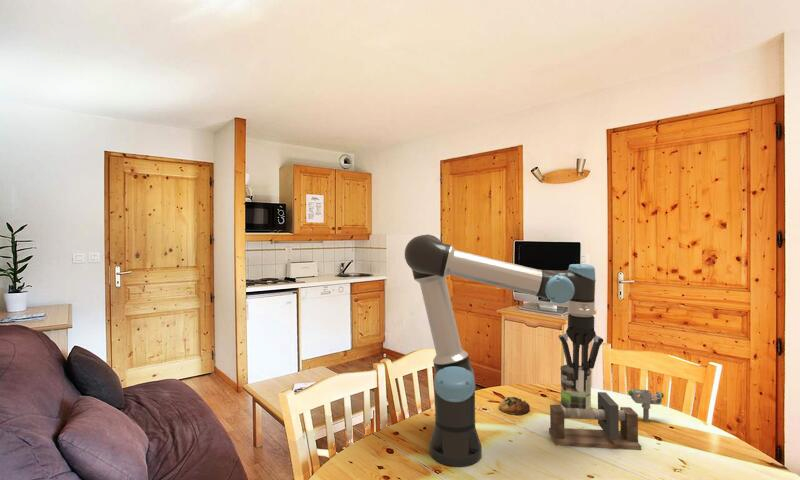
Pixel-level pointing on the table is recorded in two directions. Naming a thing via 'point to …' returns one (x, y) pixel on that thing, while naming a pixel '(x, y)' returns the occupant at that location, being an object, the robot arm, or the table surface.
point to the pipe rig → (592, 436)
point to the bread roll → (514, 406)
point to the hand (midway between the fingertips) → (579, 390)
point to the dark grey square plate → (609, 415)
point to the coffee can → (574, 390)
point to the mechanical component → (646, 400)
